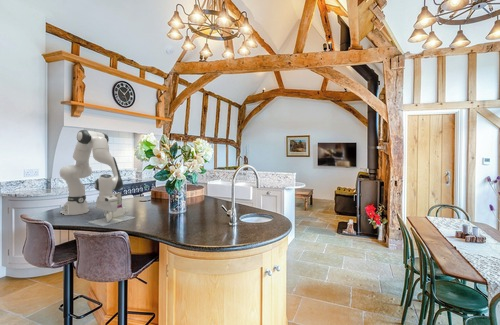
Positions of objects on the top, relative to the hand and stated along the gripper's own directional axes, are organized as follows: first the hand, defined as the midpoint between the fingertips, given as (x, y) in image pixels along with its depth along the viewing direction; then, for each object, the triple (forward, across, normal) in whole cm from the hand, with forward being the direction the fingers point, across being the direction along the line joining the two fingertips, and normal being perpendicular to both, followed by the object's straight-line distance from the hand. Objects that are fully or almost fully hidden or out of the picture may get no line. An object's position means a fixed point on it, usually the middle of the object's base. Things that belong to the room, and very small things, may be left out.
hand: (106, 216), depth 185 cm
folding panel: (+3, +2, +1) cm, 4 cm away
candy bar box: (+5, -17, +16) cm, 24 cm away
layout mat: (+4, +1, +4) cm, 6 cm away
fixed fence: (+3, -3, +10) cm, 11 cm away
